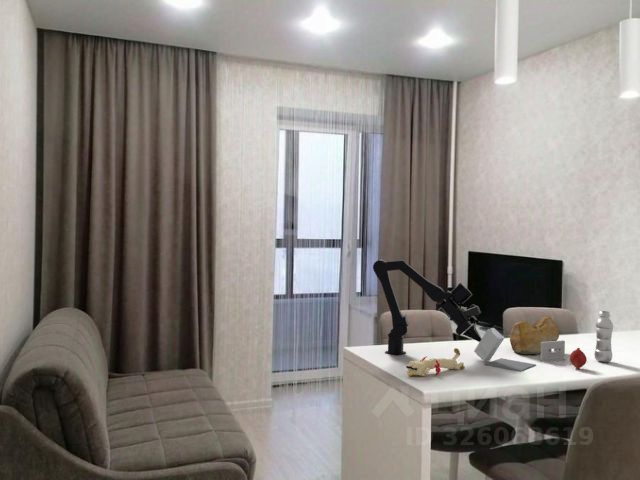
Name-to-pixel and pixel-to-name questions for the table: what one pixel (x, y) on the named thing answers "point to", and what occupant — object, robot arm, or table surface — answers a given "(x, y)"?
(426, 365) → the cat figure
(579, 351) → the onion
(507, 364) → the felt mat
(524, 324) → the rough brown rock
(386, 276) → the robot arm
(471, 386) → the table surface
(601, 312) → the plastic bottle
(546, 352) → the cassette
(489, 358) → the skincare box
